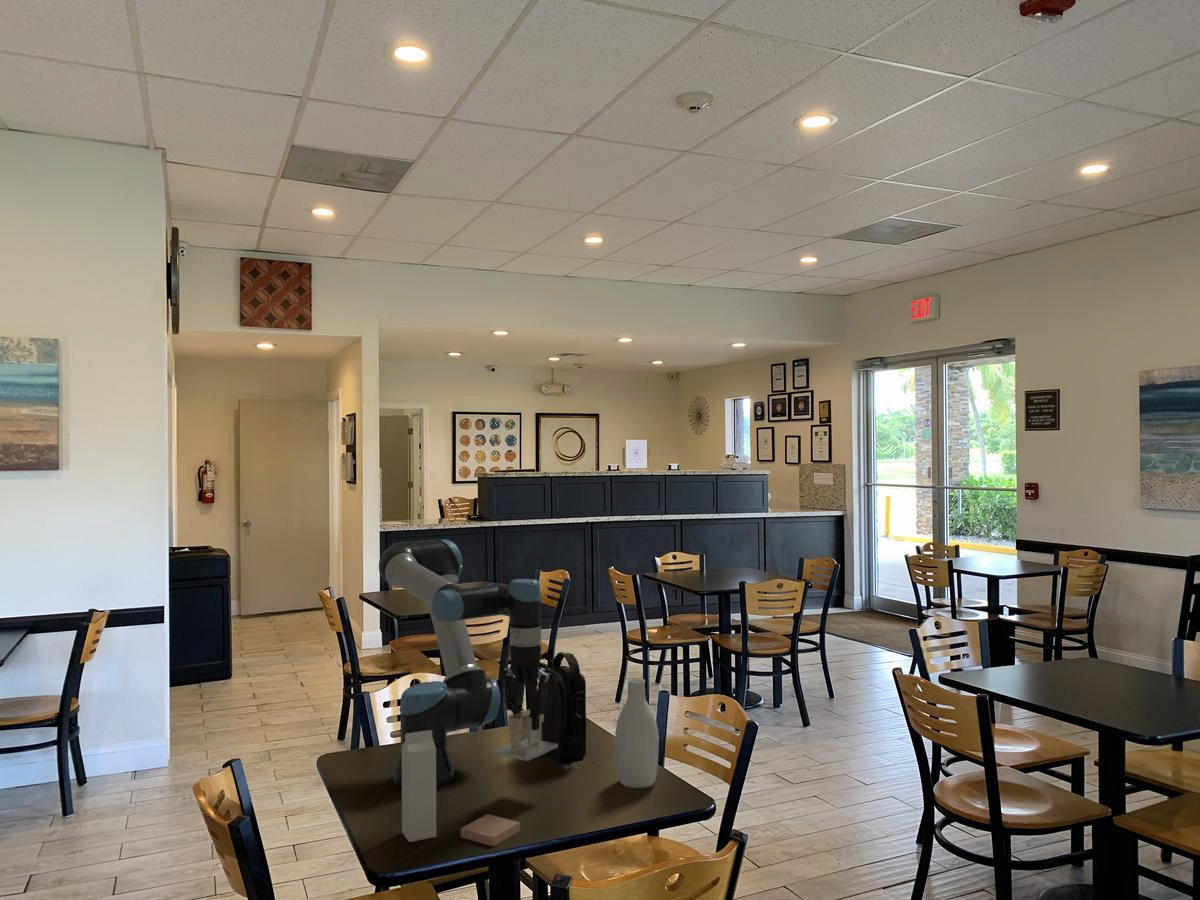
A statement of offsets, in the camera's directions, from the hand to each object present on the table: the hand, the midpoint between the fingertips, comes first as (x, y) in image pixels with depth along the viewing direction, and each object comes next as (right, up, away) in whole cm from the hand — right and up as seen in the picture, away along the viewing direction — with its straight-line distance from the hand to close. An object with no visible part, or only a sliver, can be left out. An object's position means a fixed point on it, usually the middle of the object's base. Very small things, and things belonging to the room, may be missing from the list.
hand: (526, 741), depth 210 cm
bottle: (+27, -13, +8) cm, 31 cm away
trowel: (0, -2, 0) cm, 2 cm away
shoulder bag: (+8, -14, +30) cm, 34 cm away
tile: (-3, -12, -18) cm, 22 cm away
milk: (-21, -13, -22) cm, 33 cm away
